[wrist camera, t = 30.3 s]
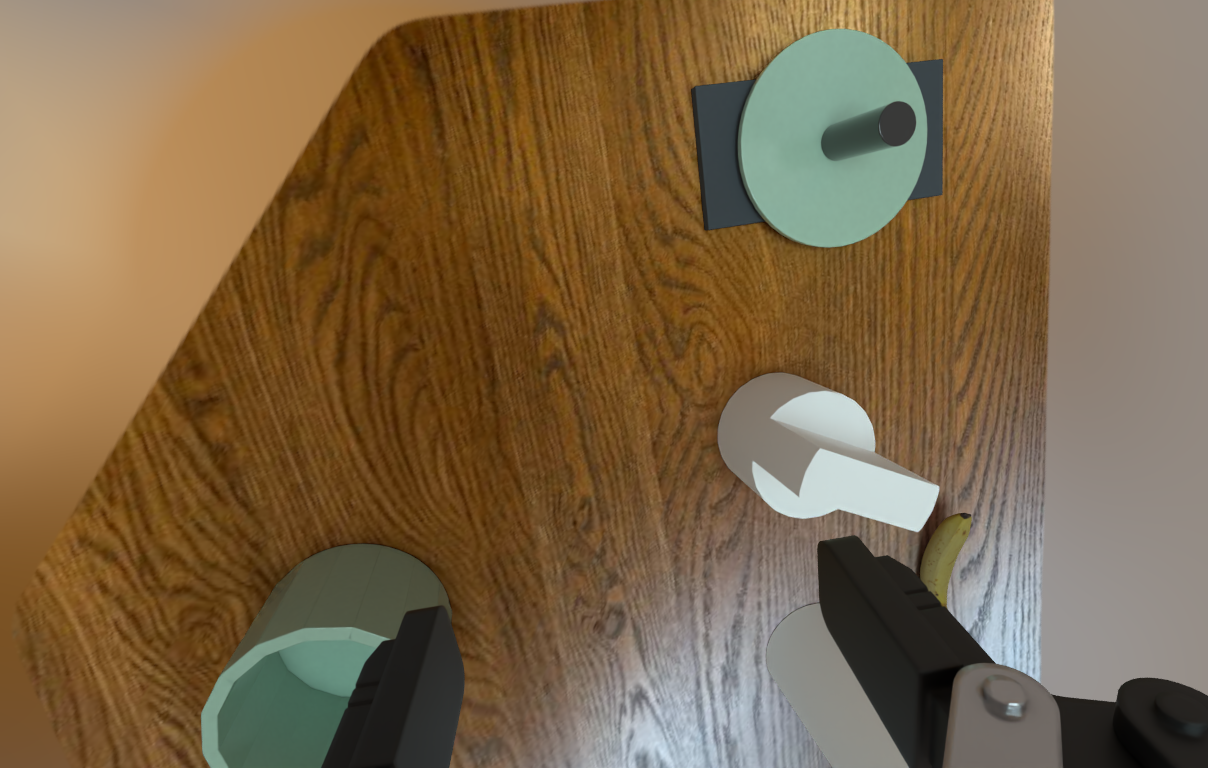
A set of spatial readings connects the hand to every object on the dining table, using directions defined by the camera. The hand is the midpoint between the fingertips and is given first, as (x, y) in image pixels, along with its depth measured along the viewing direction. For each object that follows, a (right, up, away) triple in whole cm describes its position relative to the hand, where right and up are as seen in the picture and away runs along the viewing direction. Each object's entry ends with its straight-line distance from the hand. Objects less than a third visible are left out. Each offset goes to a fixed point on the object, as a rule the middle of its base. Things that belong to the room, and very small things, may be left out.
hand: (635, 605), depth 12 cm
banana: (+27, -10, +38) cm, 48 cm away
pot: (-18, -13, +30) cm, 37 cm away
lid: (+15, +21, +27) cm, 37 cm away
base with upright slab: (+12, +1, +33) cm, 35 cm away
